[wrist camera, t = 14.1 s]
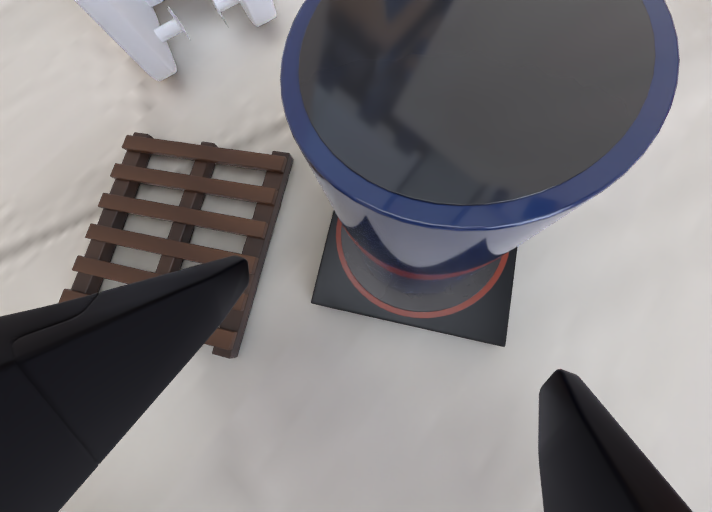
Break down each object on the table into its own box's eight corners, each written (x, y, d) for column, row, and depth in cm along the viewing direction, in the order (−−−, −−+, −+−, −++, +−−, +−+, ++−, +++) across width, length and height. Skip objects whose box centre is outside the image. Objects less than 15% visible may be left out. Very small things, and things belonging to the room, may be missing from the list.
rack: (237, 357, 18) (226, 359, 16) (74, 312, 20) (54, 312, 19) (293, 159, 20) (287, 149, 19) (142, 138, 22) (129, 128, 21)
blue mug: (465, 313, 15) (643, 289, 4) (338, 271, 16) (222, 168, 5) (513, 146, 16) (732, -190, 6) (393, 120, 18) (386, -192, 7)
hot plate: (495, 345, 16) (511, 348, 14) (317, 304, 18) (305, 301, 15) (517, 174, 18) (535, 152, 15) (354, 153, 20) (348, 130, 17)
